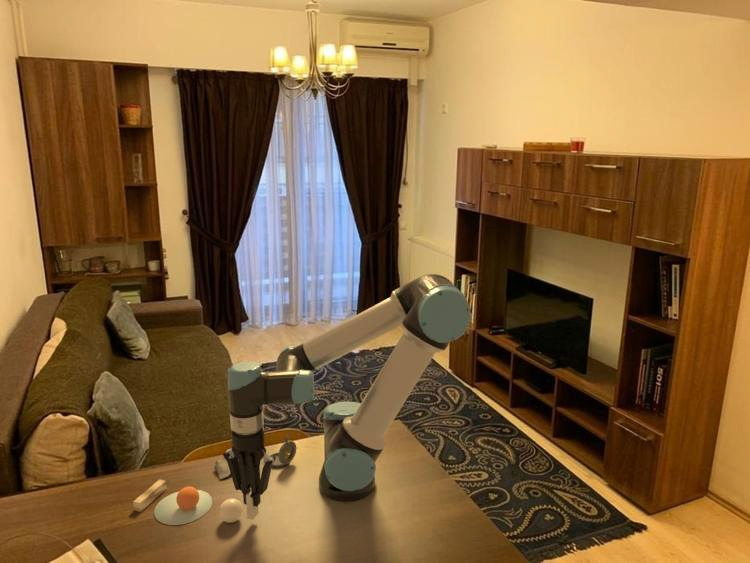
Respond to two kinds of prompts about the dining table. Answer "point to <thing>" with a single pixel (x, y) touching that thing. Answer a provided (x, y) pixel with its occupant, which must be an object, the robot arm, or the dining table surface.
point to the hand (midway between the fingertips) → (252, 515)
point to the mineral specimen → (222, 468)
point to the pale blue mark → (174, 515)
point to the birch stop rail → (149, 495)
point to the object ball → (187, 498)
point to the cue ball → (231, 510)
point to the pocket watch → (285, 453)
